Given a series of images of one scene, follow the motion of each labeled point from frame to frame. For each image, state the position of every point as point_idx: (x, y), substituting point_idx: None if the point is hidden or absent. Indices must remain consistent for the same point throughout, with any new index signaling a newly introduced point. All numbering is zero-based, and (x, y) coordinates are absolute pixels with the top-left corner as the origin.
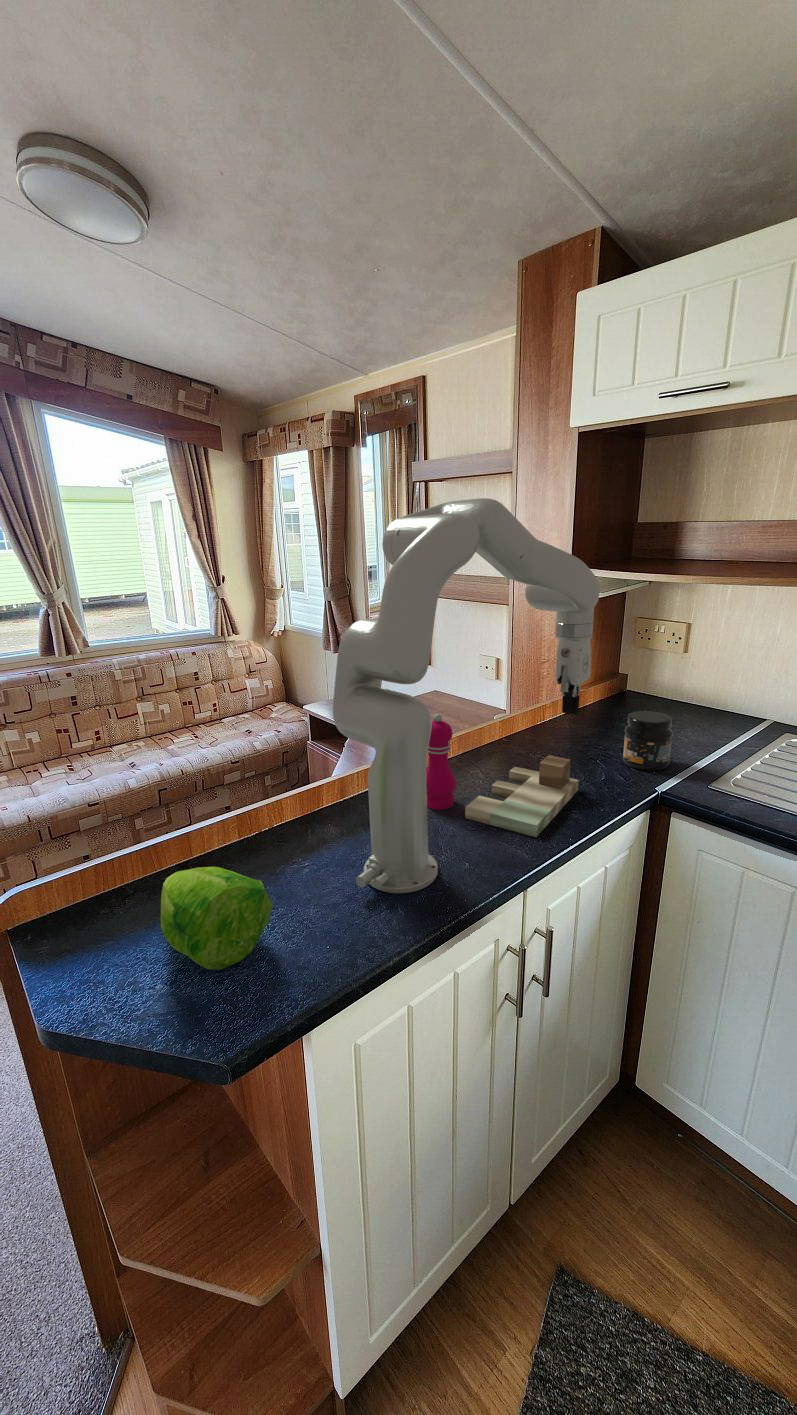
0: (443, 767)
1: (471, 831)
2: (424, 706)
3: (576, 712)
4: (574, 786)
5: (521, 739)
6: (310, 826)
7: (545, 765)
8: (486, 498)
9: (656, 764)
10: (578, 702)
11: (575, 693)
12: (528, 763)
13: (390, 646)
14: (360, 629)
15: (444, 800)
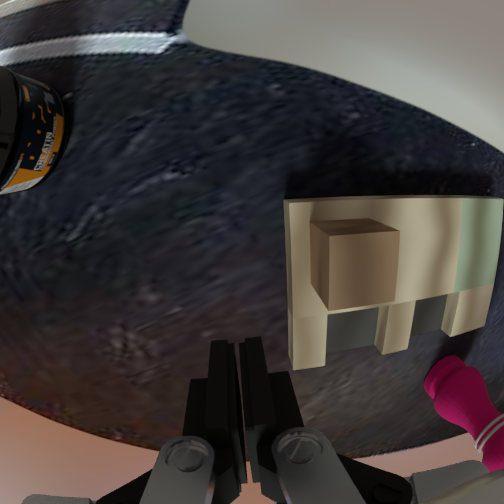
0: (489, 399)
1: (497, 285)
2: None
3: (259, 340)
4: (320, 200)
5: (91, 414)
6: (498, 407)
7: (394, 281)
8: None
9: (53, 90)
10: (226, 384)
11: (298, 459)
12: (195, 365)
13: None
14: None
15: (462, 364)
